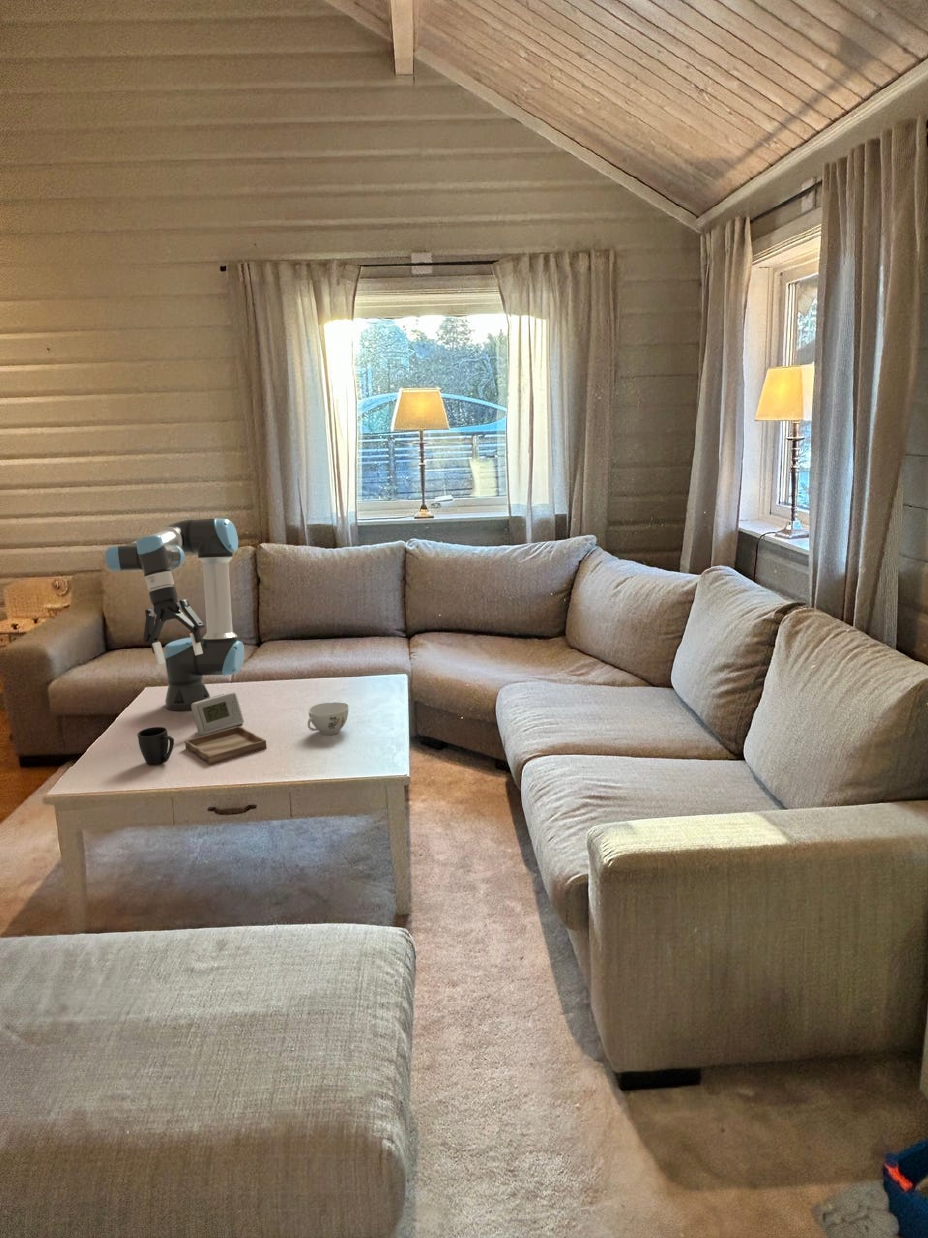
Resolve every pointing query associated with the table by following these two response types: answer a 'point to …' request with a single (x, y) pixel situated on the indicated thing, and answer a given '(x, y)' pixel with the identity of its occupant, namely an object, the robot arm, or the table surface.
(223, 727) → the digital clock
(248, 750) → the walnut tray
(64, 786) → the table surface
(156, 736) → the mug
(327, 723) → the teacup
